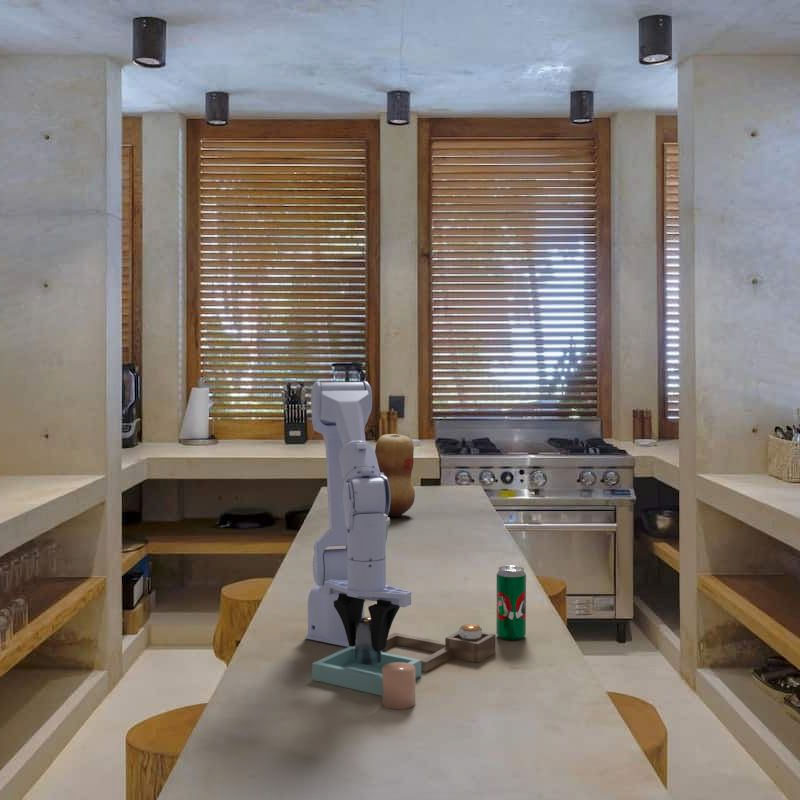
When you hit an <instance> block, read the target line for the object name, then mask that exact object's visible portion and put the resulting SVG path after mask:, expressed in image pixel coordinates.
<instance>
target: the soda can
mask: <svg viewBox="0 0 800 800" xmlns="http://www.w3.org/2000/svg"><path fill="white" fill-rule="evenodd" d="M495 584H496V587H495V588H496V592H495V593H496V596H495V598H496V599H495V600H496V602H495V603H496V605H495V606H496V611H495V612H496V615H495V616H496V625H495V626H496V627H495V628H496V635H497V637H498V638H500V639H501V640H504V641H509V640H510V641H513V642H515V641H521V640H523V639H524V638H525V636H527V574H526V572H525V568H524V567H523V566H520V565H502V566H500V567H498V571H497V573H496V582H495Z"/></svg>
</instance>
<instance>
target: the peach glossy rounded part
mask: <svg viewBox="0 0 800 800" xmlns="http://www.w3.org/2000/svg"><path fill="white" fill-rule="evenodd" d="M382 689H383V696H382V706H384V707H385V708H387V709H392V710H406V709H409V708H412V707H414V706H415V705H416V679H415V666H414V665H412V664H410V663H404V662H394V663H388V664H386V665H384V666H383V667H382Z"/></svg>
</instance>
